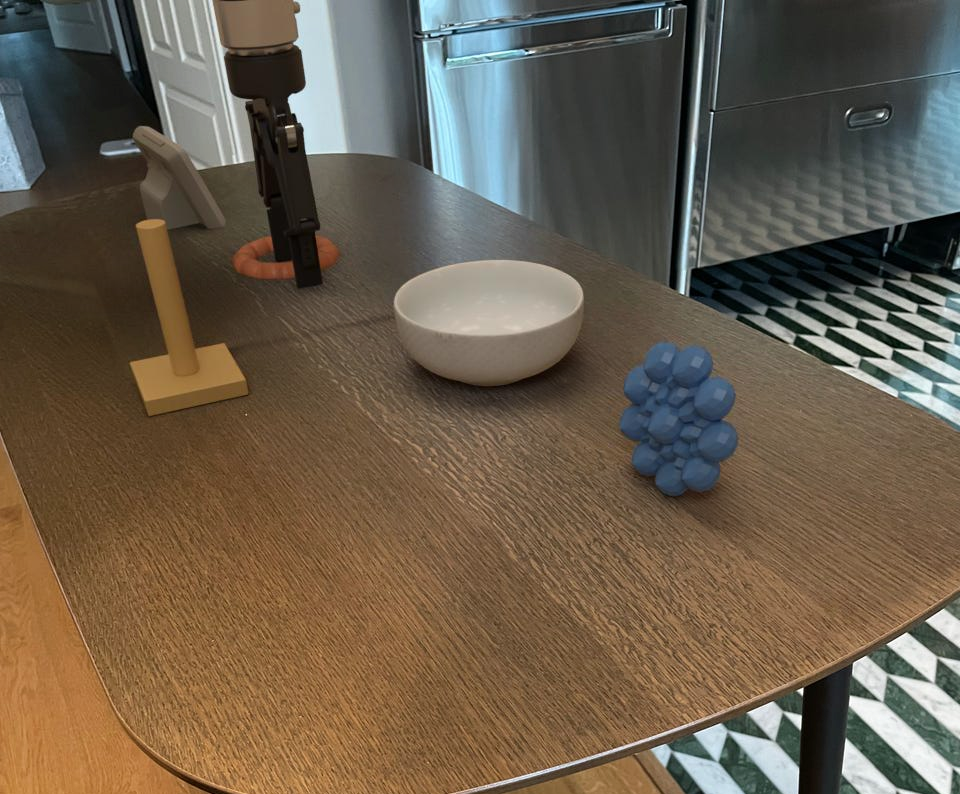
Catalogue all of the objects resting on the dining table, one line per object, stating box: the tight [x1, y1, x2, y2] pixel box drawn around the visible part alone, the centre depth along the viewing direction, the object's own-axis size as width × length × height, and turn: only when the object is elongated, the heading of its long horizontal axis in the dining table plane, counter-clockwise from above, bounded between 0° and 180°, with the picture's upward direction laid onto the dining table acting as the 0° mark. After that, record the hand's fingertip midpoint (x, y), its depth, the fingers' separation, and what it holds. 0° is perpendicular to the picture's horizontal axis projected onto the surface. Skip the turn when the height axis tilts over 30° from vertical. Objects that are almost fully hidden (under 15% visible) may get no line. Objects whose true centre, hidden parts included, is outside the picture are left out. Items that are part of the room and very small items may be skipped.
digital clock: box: [132, 125, 228, 231], centre depth 126 cm, size 16×9×11 cm, turn 20°
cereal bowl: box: [393, 259, 585, 387], centre depth 90 cm, size 17×17×7 cm
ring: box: [231, 235, 340, 280], centre depth 114 cm, size 12×12×2 cm
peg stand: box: [129, 219, 250, 417], centre depth 88 cm, size 9×9×14 cm
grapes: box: [618, 340, 739, 497], centre depth 71 cm, size 12×7×12 cm, turn 31°
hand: (299, 280), depth 111 cm, fingers open, 8 cm apart
